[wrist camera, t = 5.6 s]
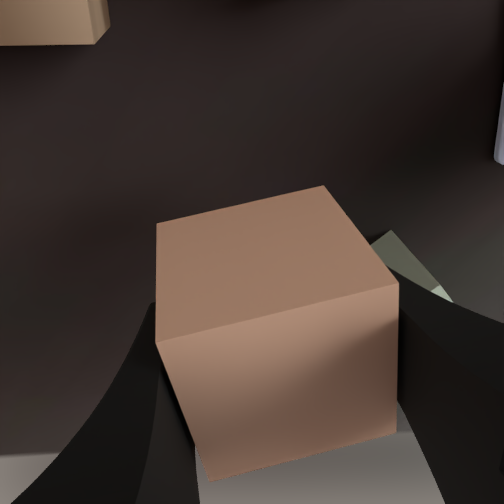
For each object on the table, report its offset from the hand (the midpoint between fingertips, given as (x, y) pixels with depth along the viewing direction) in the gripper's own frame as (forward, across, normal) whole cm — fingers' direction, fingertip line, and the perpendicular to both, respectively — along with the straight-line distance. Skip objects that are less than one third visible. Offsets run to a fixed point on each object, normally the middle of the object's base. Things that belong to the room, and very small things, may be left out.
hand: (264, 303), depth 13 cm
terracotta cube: (+2, 0, 0) cm, 2 cm away
